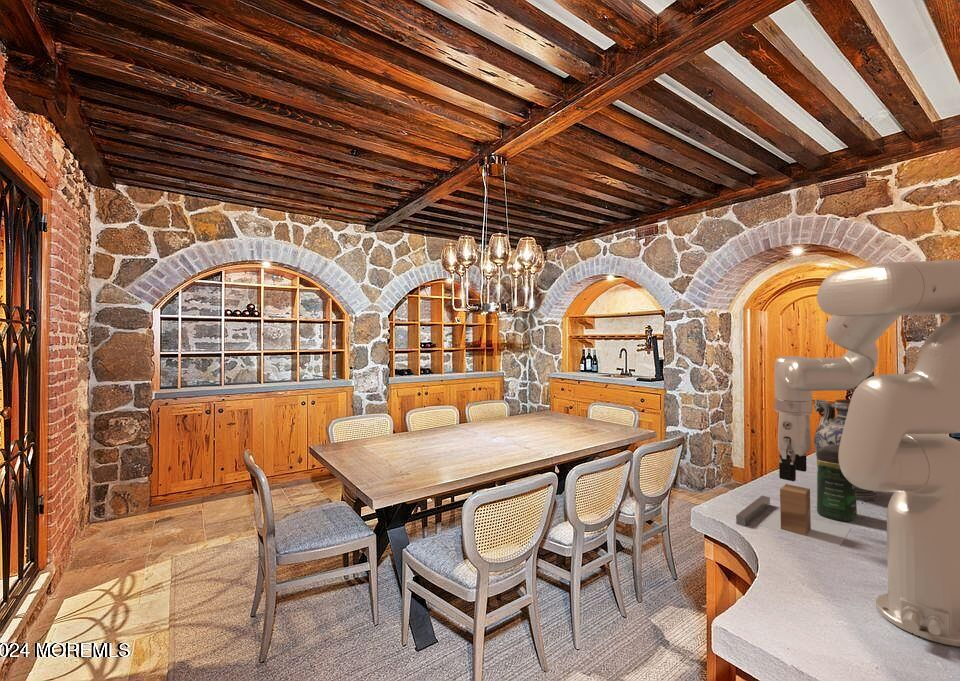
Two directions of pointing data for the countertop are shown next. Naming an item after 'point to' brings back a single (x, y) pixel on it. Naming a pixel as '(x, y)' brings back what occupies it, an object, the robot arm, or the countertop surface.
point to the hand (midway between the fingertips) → (793, 474)
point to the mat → (818, 531)
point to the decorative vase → (835, 432)
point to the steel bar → (752, 511)
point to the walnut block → (795, 509)
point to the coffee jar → (834, 487)
